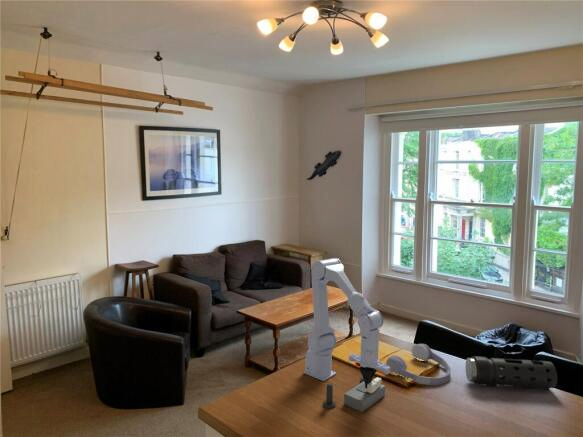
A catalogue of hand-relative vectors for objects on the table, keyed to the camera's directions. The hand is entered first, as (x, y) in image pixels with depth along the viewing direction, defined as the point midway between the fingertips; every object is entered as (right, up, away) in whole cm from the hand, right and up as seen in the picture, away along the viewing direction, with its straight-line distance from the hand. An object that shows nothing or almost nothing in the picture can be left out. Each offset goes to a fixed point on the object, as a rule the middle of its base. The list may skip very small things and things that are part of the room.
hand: (368, 387), depth 144 cm
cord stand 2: (+2, -3, +14) cm, 14 cm away
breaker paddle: (+1, -1, -1) cm, 2 cm away
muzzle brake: (+52, -5, +11) cm, 54 cm away
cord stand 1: (-13, -5, -2) cm, 14 cm away
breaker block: (-1, -5, +1) cm, 5 cm away
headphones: (+24, -3, +22) cm, 33 cm away
